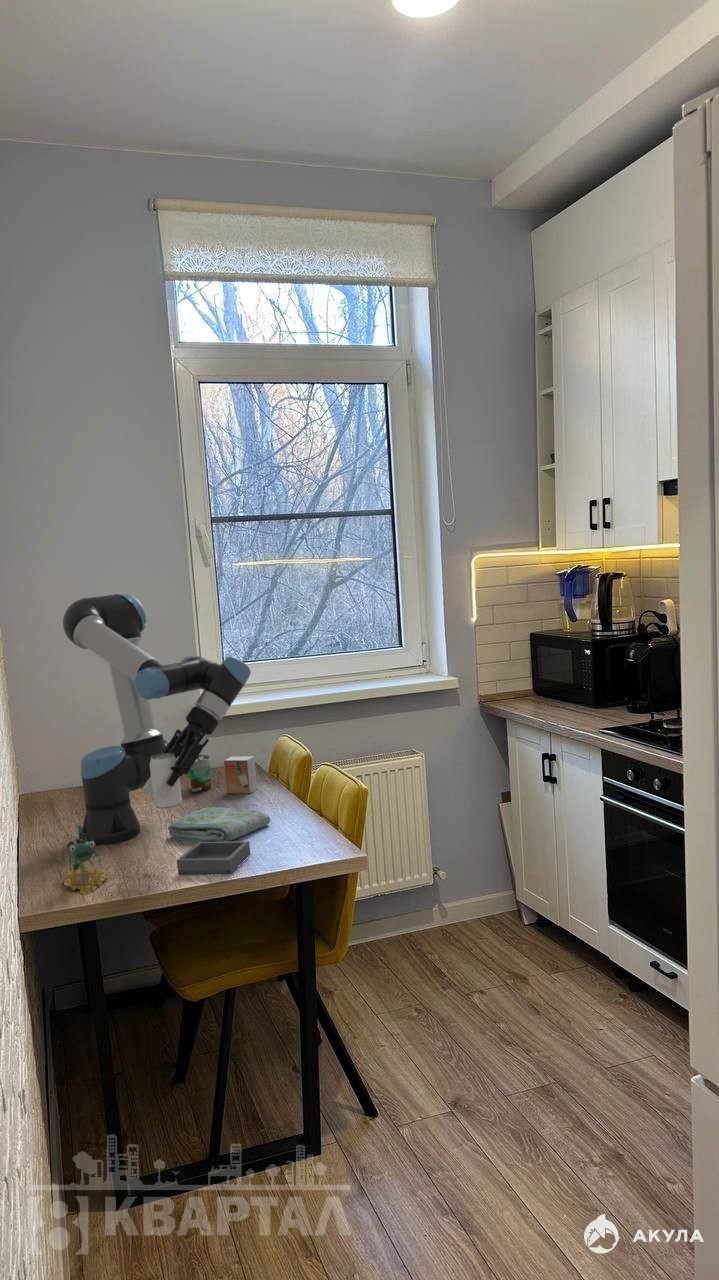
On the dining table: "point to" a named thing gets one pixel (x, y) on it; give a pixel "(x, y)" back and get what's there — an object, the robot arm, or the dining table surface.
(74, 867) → the frog figurine
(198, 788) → the food container
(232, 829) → the towel
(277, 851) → the dining table surface
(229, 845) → the tray
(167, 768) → the can
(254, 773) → the small box
